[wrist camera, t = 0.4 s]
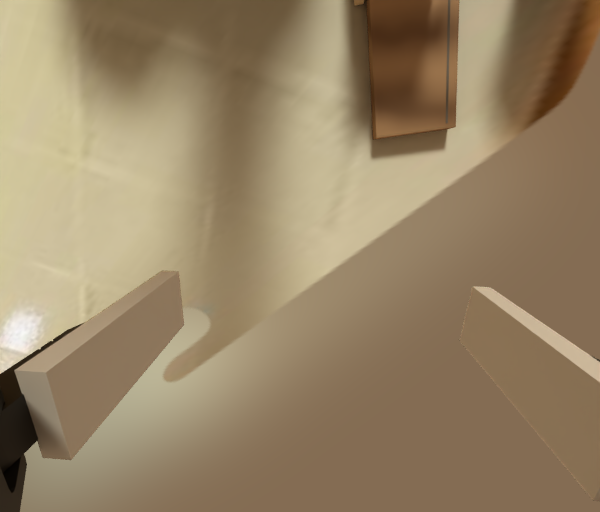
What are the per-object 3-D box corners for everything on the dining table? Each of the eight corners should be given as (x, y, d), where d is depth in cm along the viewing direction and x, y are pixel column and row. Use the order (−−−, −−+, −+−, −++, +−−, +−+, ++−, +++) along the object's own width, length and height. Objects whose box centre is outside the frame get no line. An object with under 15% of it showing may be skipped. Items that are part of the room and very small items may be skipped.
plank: (362, -77, 29) (365, -94, 27) (452, -95, 28) (462, -115, 26) (373, 139, 35) (376, 137, 33) (447, 129, 34) (455, 126, 32)
